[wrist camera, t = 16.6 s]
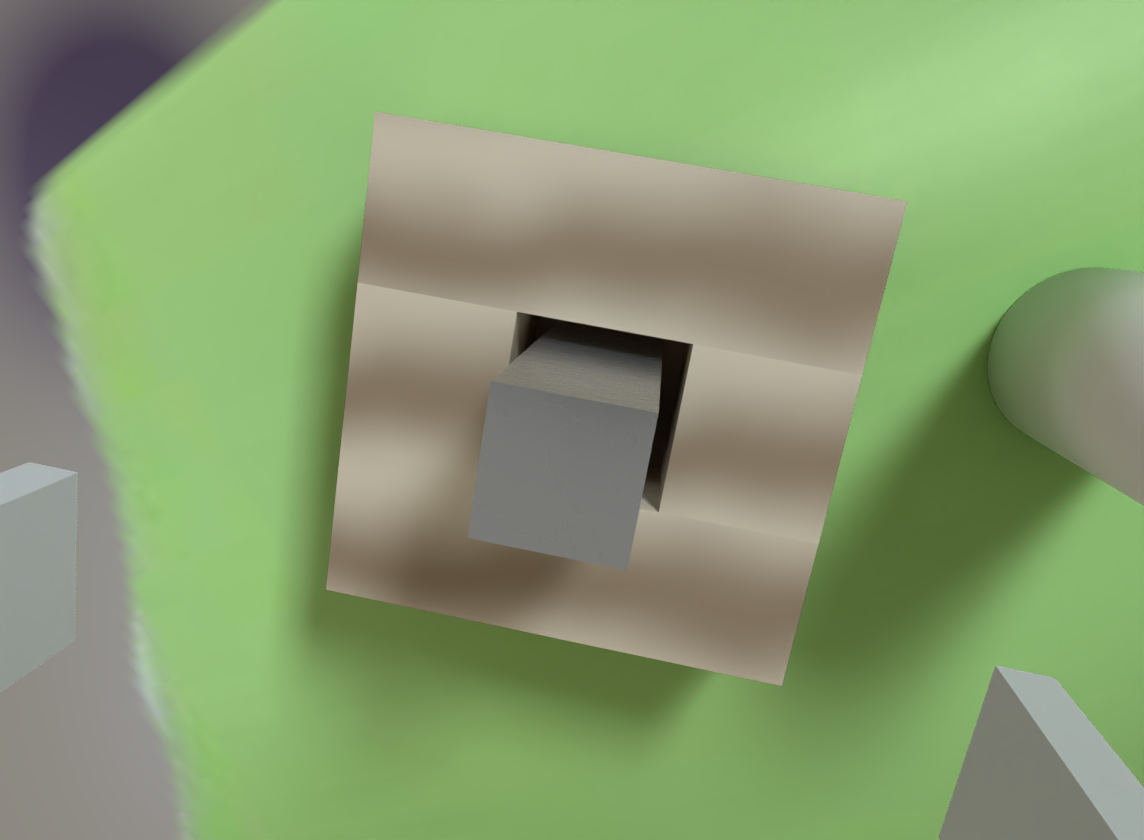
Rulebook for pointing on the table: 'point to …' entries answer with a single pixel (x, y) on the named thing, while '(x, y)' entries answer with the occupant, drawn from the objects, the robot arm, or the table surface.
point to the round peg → (1078, 371)
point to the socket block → (622, 305)
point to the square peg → (569, 445)
